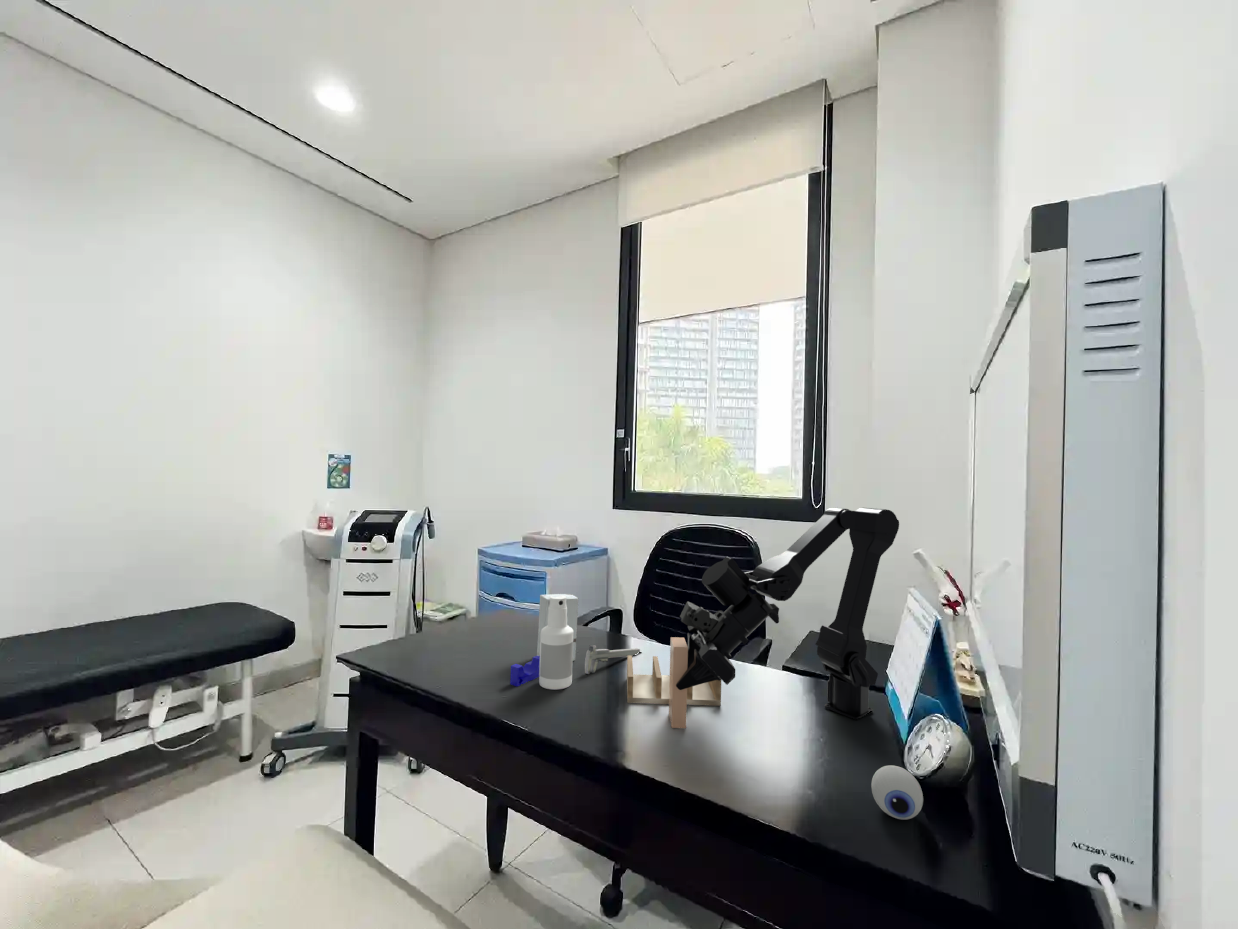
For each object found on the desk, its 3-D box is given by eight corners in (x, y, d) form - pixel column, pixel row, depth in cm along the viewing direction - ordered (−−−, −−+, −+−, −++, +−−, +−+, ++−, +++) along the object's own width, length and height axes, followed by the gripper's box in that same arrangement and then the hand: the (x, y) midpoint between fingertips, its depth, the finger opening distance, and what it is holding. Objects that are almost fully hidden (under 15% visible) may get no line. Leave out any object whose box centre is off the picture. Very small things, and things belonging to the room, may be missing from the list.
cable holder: (531, 672, 114) (532, 654, 114) (543, 676, 112) (544, 657, 113) (505, 683, 108) (505, 664, 108) (517, 687, 106) (517, 668, 106)
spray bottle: (545, 692, 103) (548, 602, 104) (534, 680, 109) (537, 594, 110) (576, 687, 106) (579, 599, 107) (564, 675, 112) (567, 592, 113)
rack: (710, 681, 111) (710, 658, 111) (720, 705, 99) (721, 679, 99) (626, 678, 111) (627, 655, 112) (627, 702, 99) (628, 676, 100)
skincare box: (542, 664, 118) (544, 599, 119) (536, 656, 124) (538, 594, 124) (577, 660, 122) (579, 597, 122) (569, 652, 127) (571, 592, 128)
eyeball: (873, 822, 66) (874, 775, 66) (868, 796, 72) (869, 752, 72) (927, 835, 64) (927, 786, 64) (918, 807, 70) (918, 762, 70)
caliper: (587, 676, 113) (588, 647, 113) (584, 675, 114) (585, 646, 114) (642, 653, 129) (643, 628, 129) (639, 652, 130) (639, 627, 130)
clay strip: (682, 714, 95) (684, 637, 96) (685, 728, 90) (687, 647, 90) (668, 713, 95) (670, 637, 96) (671, 728, 90) (673, 646, 90)
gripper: (699, 578, 103) (642, 633, 102) (717, 600, 84) (647, 667, 84) (738, 619, 102) (681, 674, 102) (764, 651, 84) (695, 718, 83)
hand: (675, 681), depth 93 cm, fingers closed on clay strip, 5 cm apart
